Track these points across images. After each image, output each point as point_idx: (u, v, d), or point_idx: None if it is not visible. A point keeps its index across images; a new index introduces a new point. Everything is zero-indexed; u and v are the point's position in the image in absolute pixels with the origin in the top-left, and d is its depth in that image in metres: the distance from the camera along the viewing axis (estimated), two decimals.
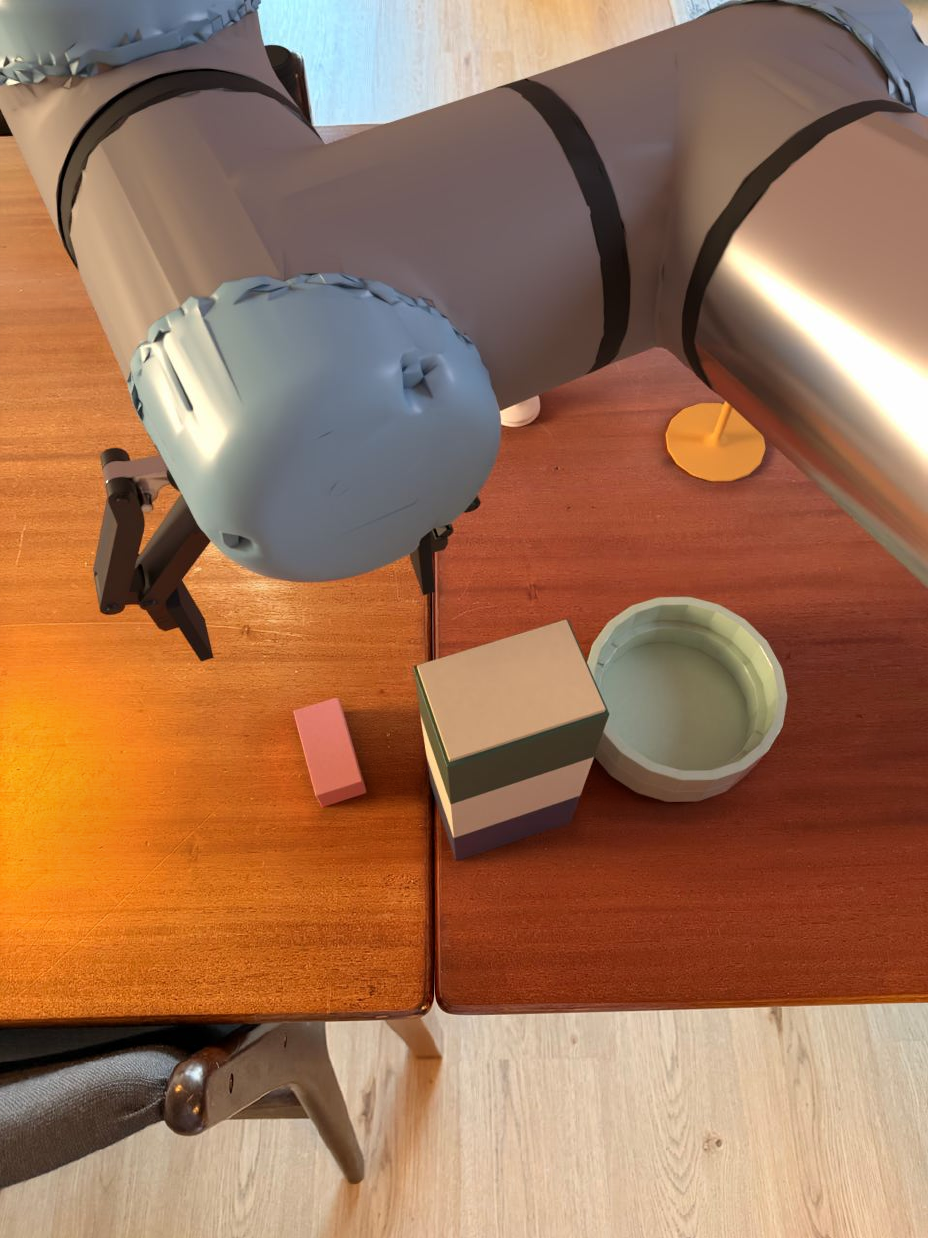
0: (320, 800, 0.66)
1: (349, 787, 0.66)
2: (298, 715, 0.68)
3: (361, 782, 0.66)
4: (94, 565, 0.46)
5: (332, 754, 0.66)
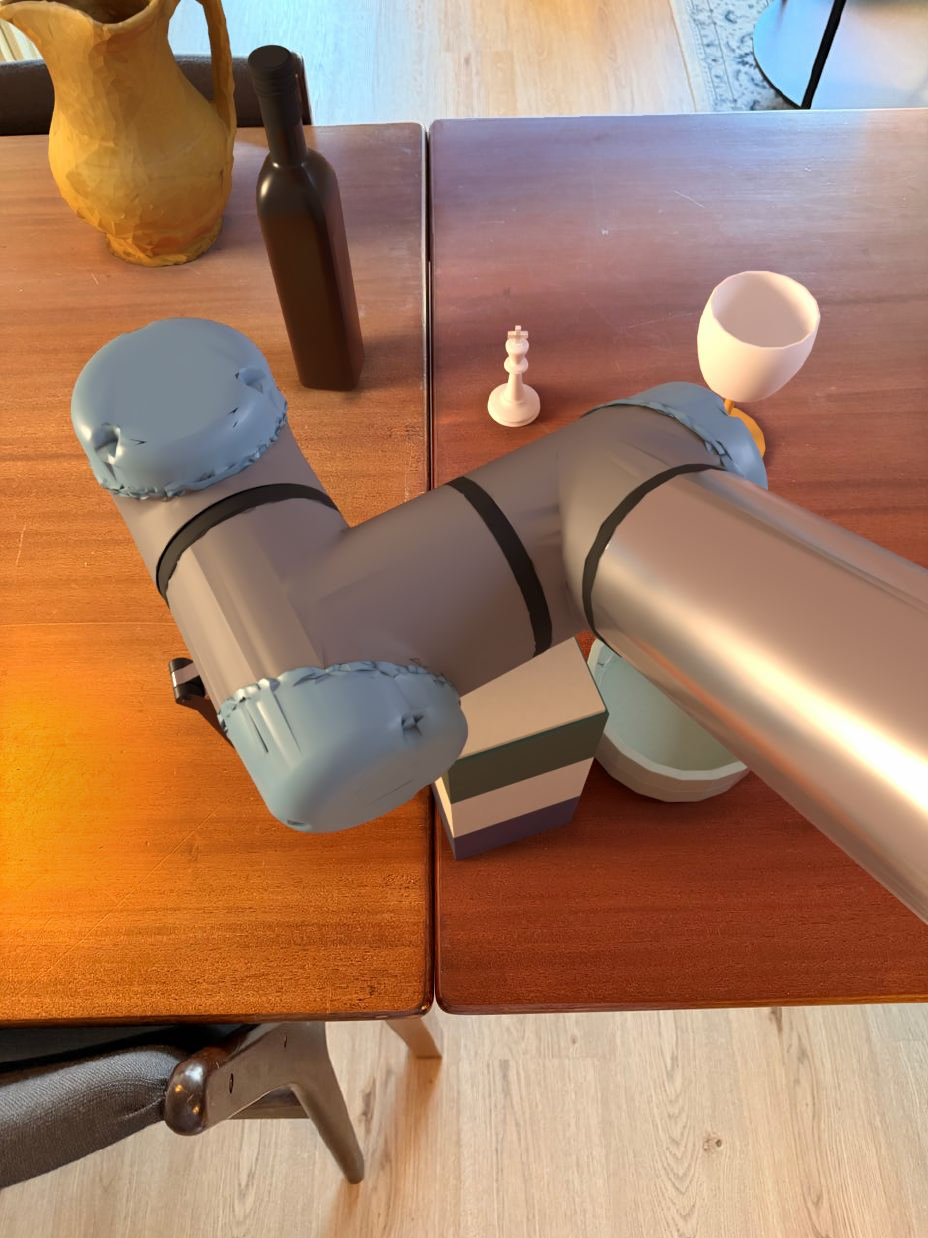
0: None
1: None
2: None
3: None
4: None
5: None
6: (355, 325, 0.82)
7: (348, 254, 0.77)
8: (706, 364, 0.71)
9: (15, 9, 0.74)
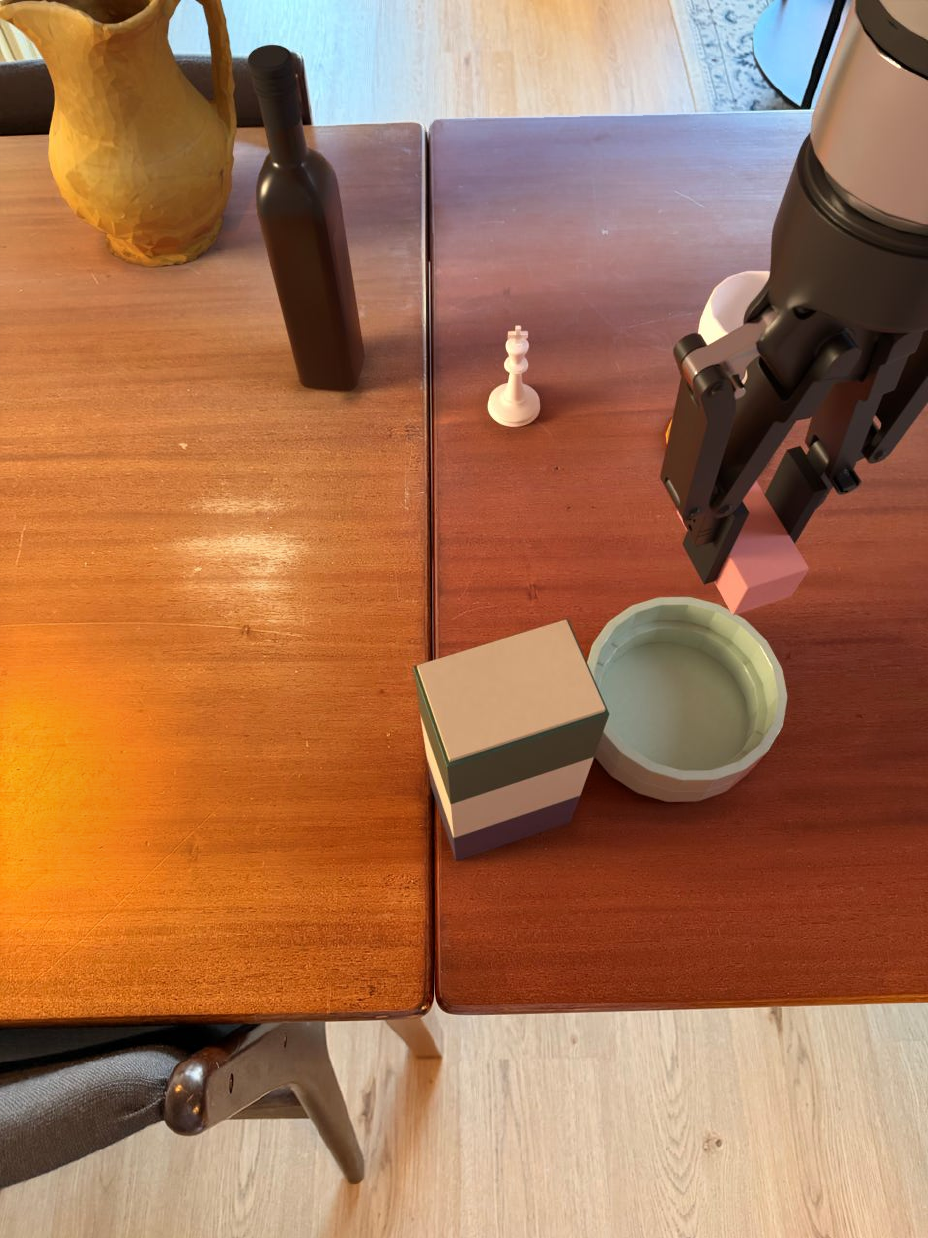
0: (743, 599, 0.46)
1: (788, 579, 0.46)
2: None
3: (806, 571, 0.46)
4: (662, 471, 0.41)
5: (757, 534, 0.46)
6: (355, 325, 0.82)
7: (348, 254, 0.77)
8: None
9: (15, 9, 0.74)
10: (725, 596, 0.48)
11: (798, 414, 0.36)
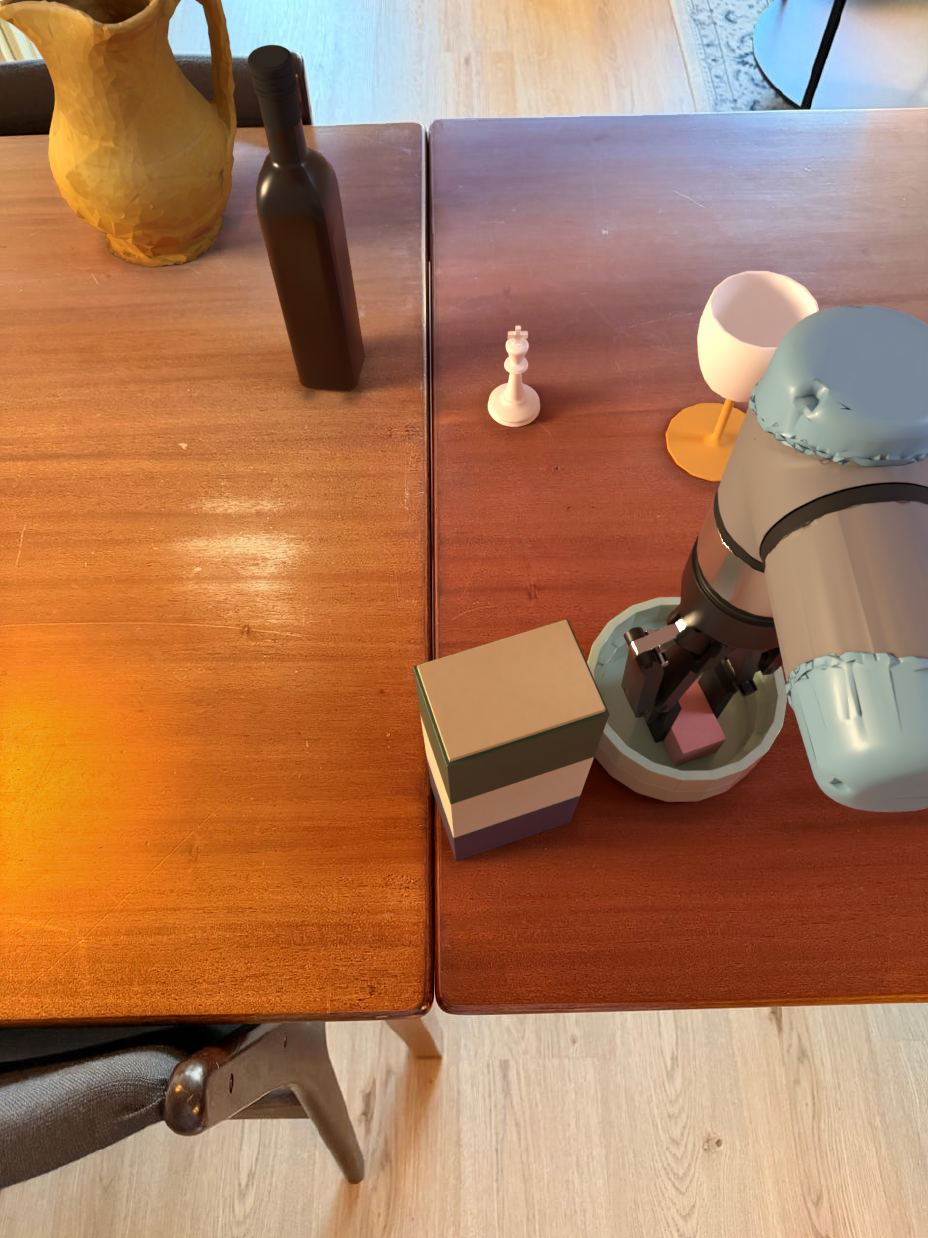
0: (681, 758, 0.66)
1: (712, 745, 0.66)
2: None
3: (724, 740, 0.66)
4: (622, 683, 0.62)
5: (691, 712, 0.67)
6: (355, 325, 0.82)
7: (348, 254, 0.77)
8: (706, 364, 0.71)
9: (15, 9, 0.74)
10: (670, 752, 0.68)
11: (704, 670, 0.56)
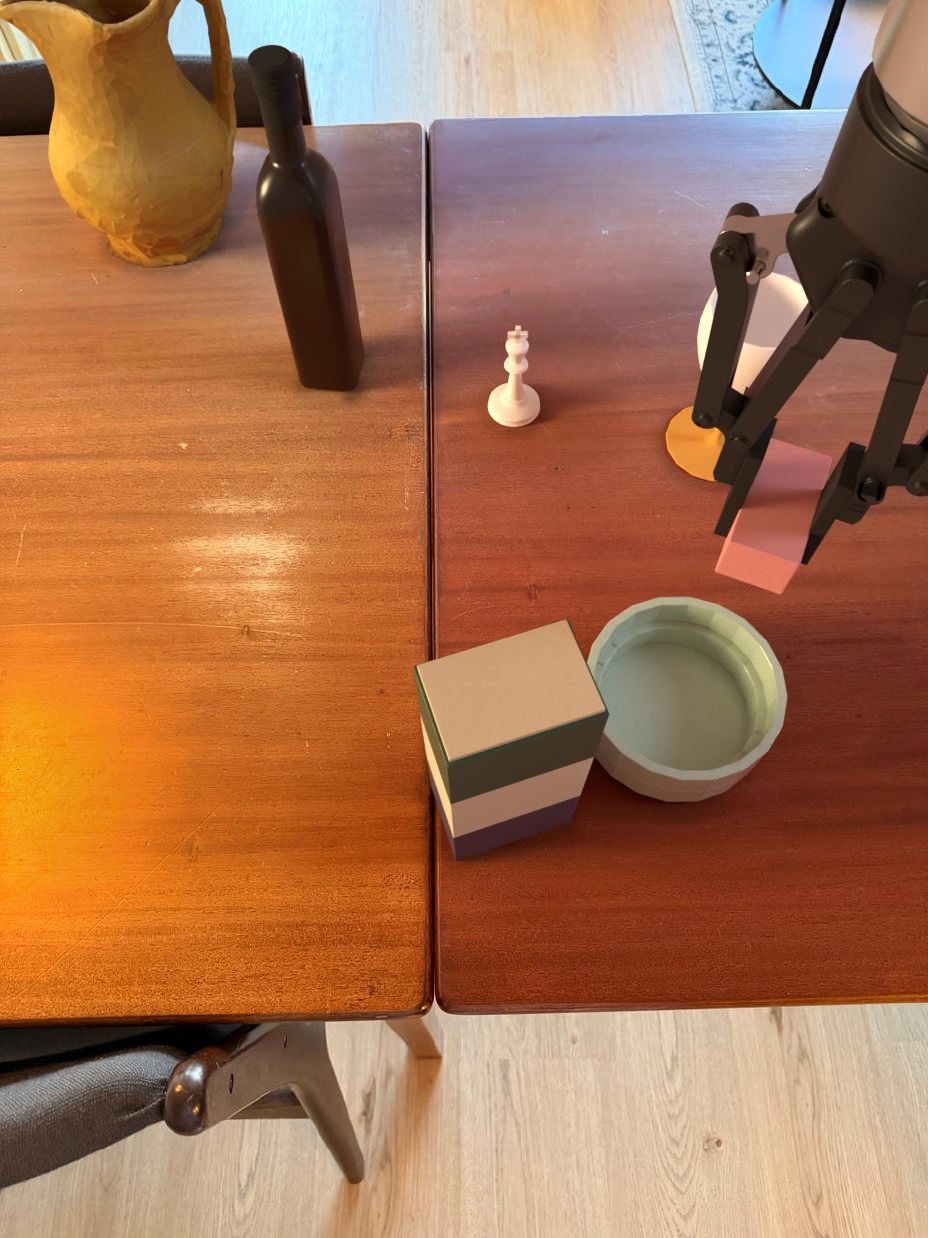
0: (725, 555, 0.45)
1: (775, 563, 0.44)
2: (769, 444, 0.46)
3: (796, 566, 0.43)
4: None
5: (782, 511, 0.44)
6: (355, 325, 0.82)
7: (348, 254, 0.77)
8: None
9: (15, 9, 0.74)
10: (721, 552, 0.46)
11: (808, 344, 0.34)
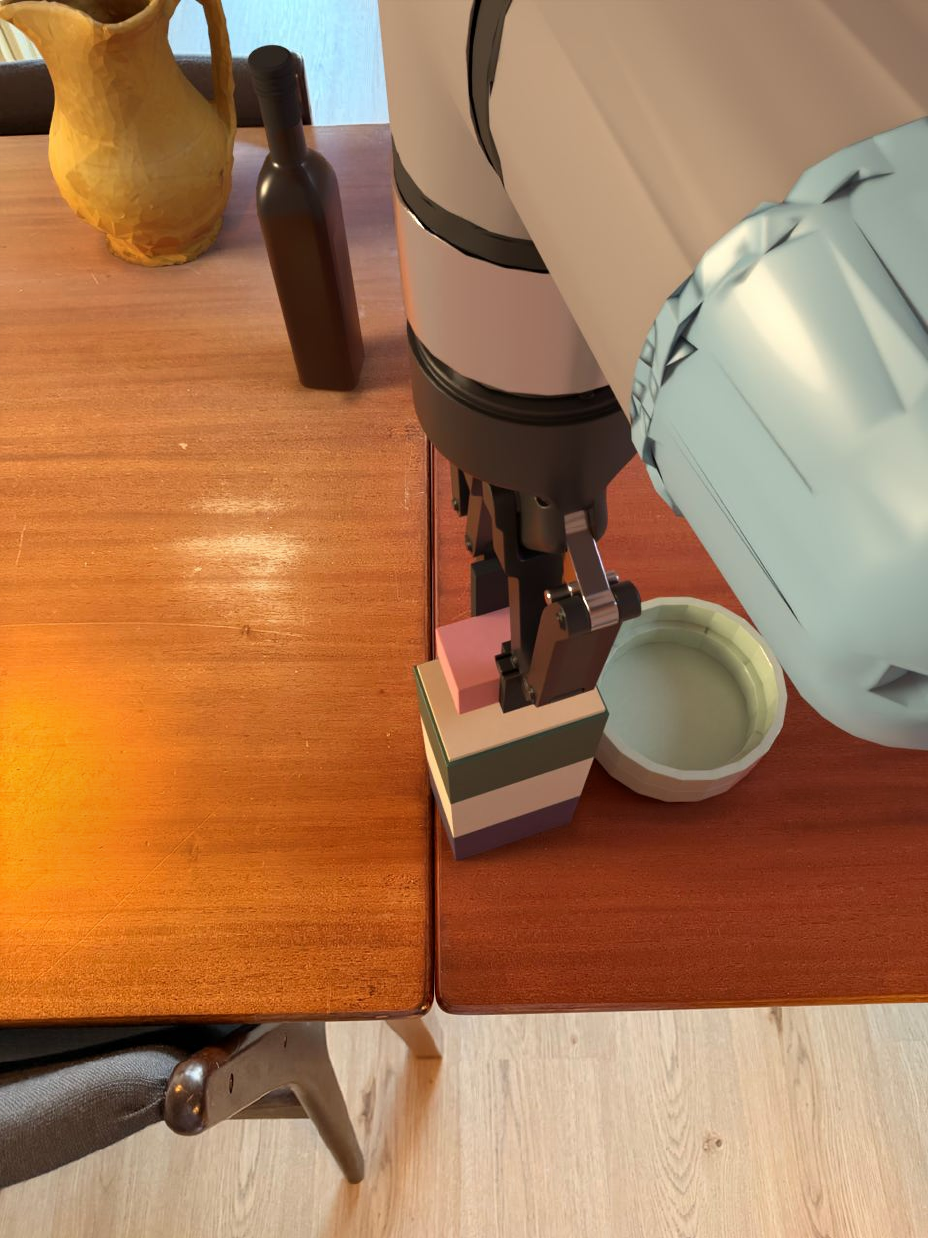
0: (437, 641, 0.44)
1: (451, 677, 0.42)
2: None
3: (457, 692, 0.42)
4: None
5: None
6: (355, 325, 0.82)
7: (348, 254, 0.77)
8: None
9: (15, 9, 0.74)
10: None
11: (464, 471, 0.33)
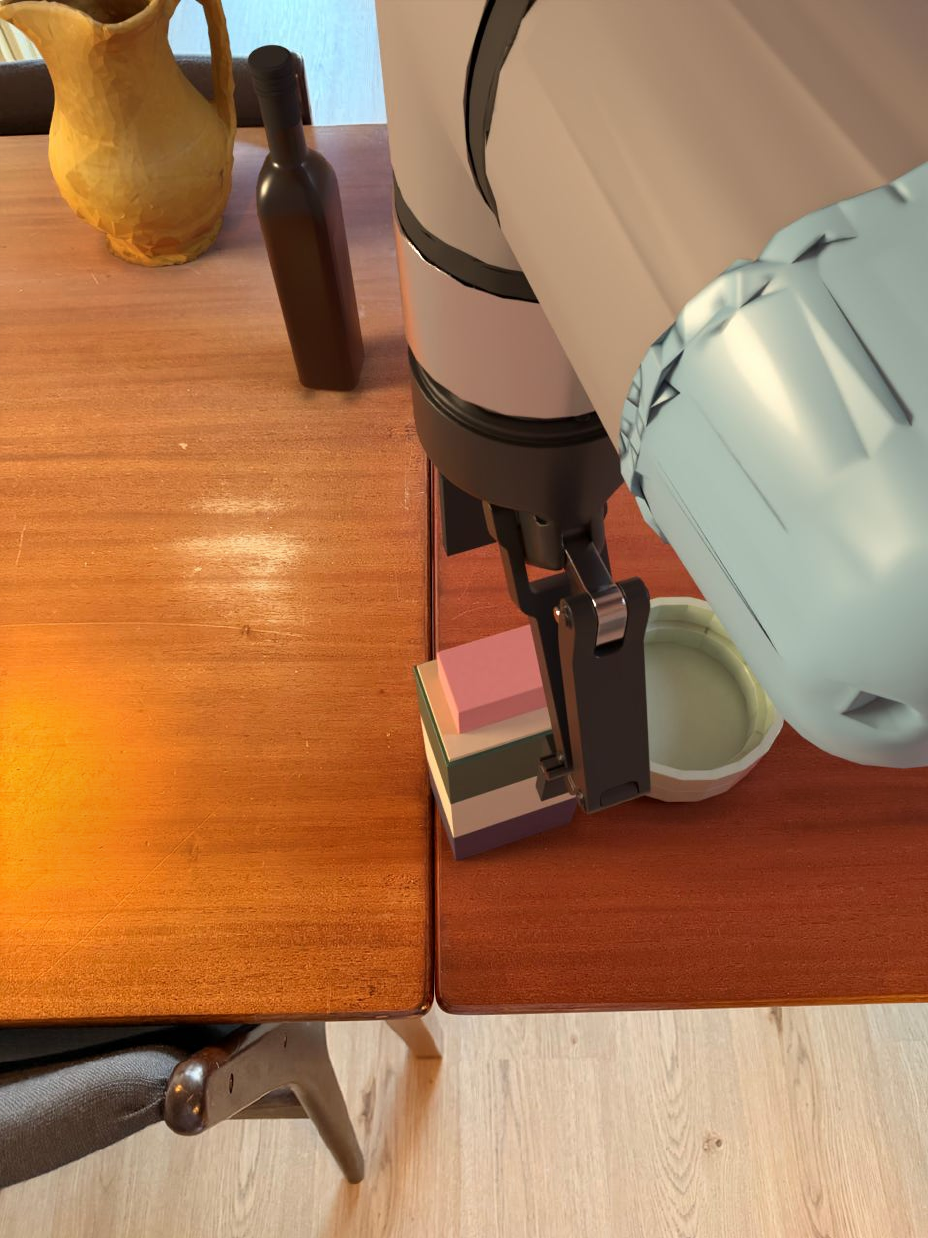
0: (438, 664, 0.46)
1: (451, 699, 0.45)
2: None
3: (457, 713, 0.44)
4: None
5: (499, 670, 0.45)
6: (355, 325, 0.82)
7: (348, 254, 0.77)
8: None
9: (15, 9, 0.74)
10: None
11: None
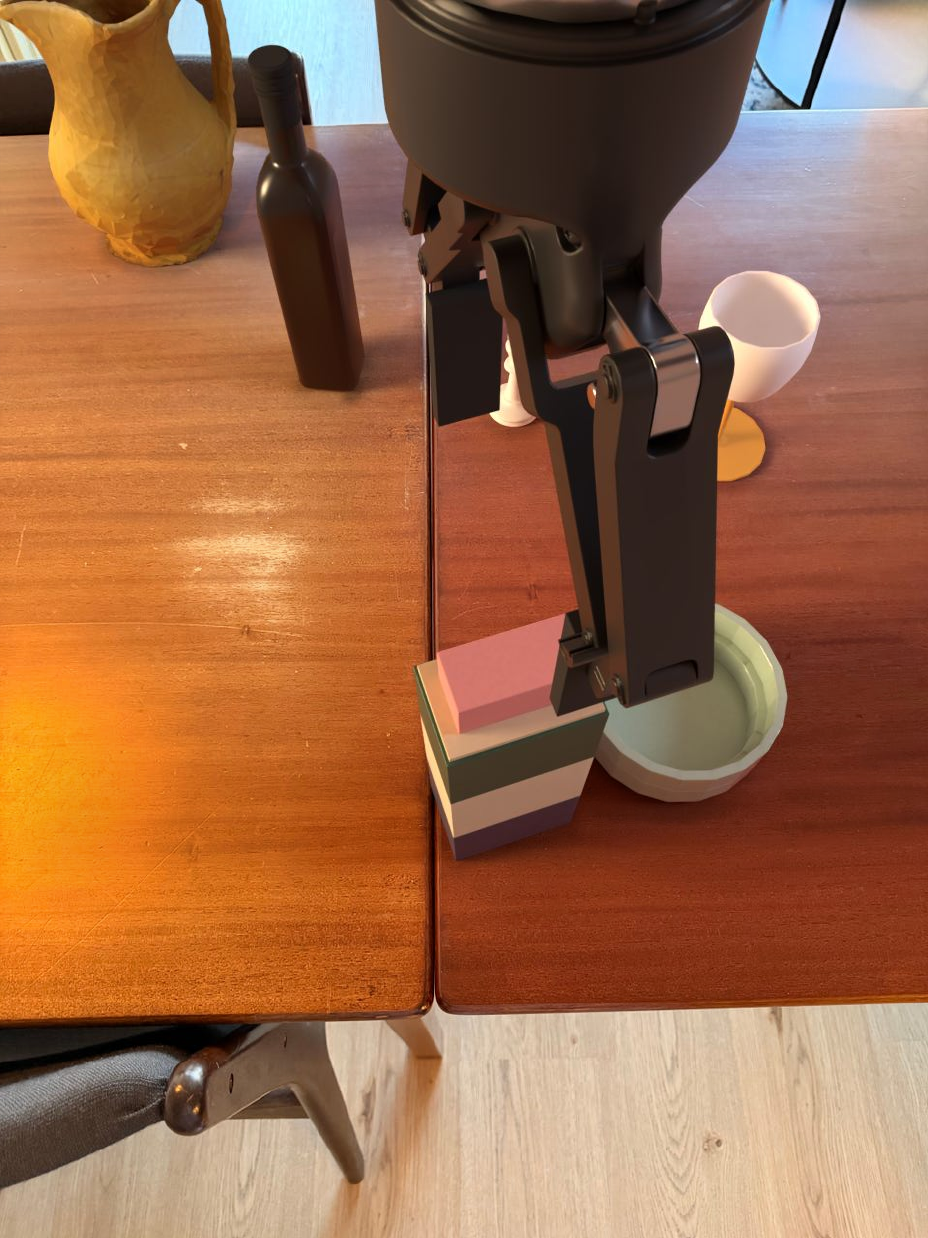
0: (438, 664, 0.46)
1: (451, 699, 0.45)
2: (559, 620, 0.46)
3: (457, 713, 0.44)
4: None
5: (499, 670, 0.45)
6: (355, 325, 0.82)
7: (348, 254, 0.77)
8: None
9: (15, 9, 0.74)
10: None
11: (442, 217, 0.25)
